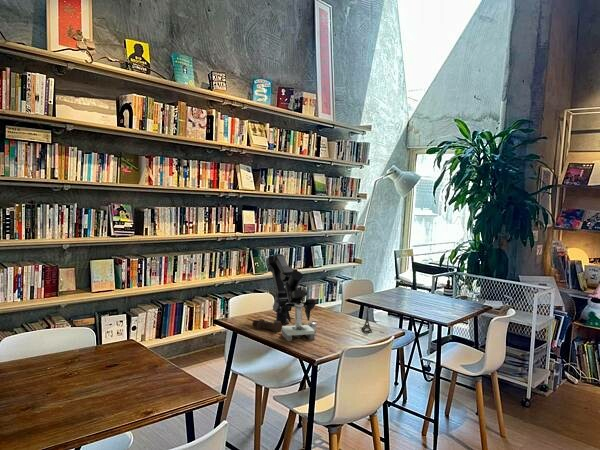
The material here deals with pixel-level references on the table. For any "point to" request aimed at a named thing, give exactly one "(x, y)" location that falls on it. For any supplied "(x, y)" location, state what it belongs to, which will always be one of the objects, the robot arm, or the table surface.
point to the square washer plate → (297, 332)
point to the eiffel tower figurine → (367, 326)
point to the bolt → (268, 325)
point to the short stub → (313, 325)
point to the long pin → (298, 318)
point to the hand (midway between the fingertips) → (299, 320)
